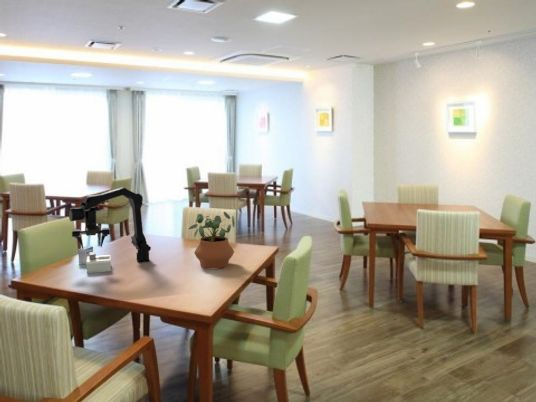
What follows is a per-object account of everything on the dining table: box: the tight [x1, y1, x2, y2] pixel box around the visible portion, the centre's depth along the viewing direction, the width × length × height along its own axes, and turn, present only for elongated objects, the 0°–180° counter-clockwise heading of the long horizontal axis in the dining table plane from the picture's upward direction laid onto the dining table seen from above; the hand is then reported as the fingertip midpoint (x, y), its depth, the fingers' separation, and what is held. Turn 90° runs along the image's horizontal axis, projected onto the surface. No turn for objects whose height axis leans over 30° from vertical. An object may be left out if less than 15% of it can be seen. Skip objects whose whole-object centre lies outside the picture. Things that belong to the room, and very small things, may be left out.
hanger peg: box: [89, 251, 97, 260], centre depth 241 cm, size 4×6×8 cm
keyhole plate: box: [85, 254, 112, 274], centre depth 242 cm, size 12×12×6 cm
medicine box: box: [77, 245, 94, 265], centre depth 254 cm, size 8×4×9 cm, turn 168°
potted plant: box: [188, 211, 235, 269], centre depth 251 cm, size 23×28×30 cm
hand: (92, 247), depth 240 cm, fingers open, 9 cm apart
